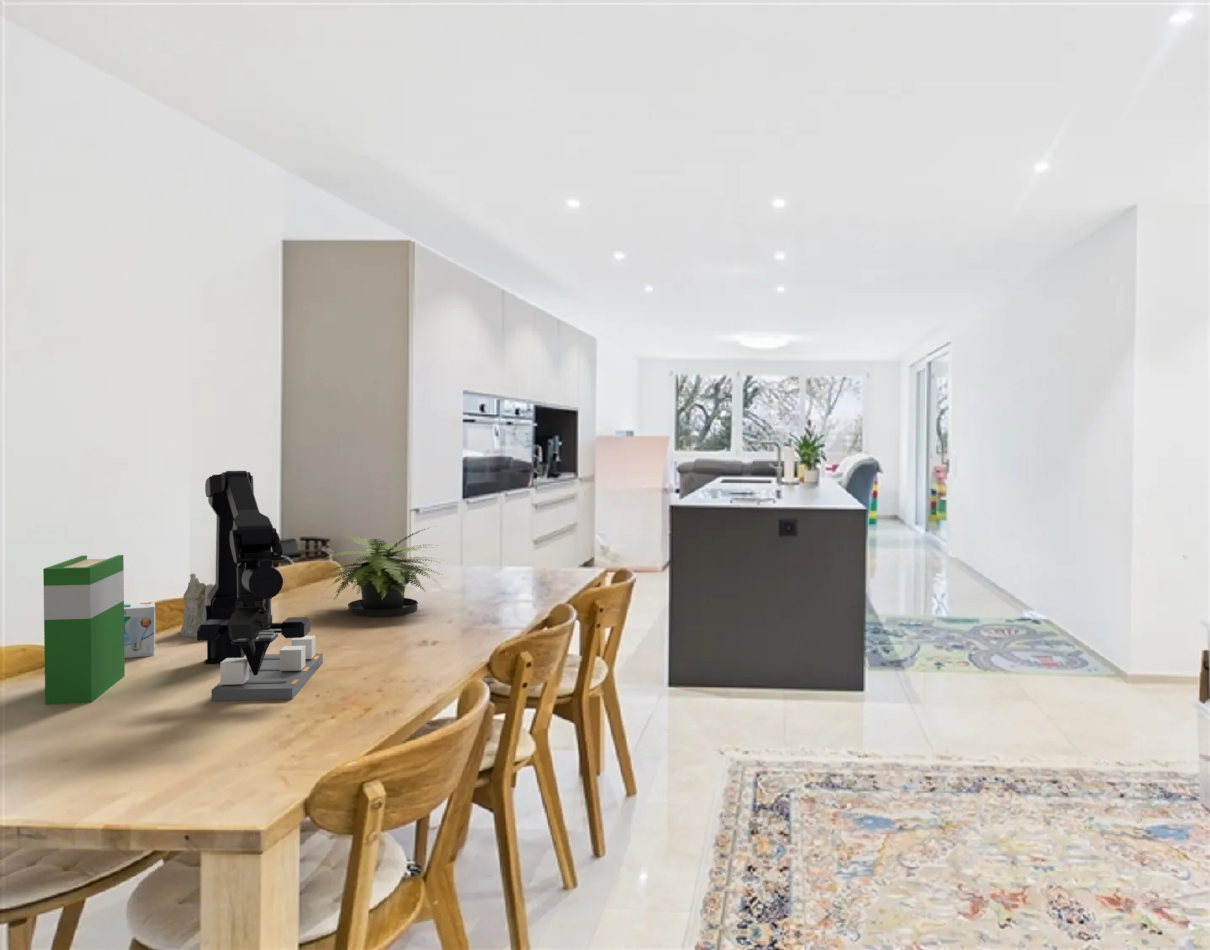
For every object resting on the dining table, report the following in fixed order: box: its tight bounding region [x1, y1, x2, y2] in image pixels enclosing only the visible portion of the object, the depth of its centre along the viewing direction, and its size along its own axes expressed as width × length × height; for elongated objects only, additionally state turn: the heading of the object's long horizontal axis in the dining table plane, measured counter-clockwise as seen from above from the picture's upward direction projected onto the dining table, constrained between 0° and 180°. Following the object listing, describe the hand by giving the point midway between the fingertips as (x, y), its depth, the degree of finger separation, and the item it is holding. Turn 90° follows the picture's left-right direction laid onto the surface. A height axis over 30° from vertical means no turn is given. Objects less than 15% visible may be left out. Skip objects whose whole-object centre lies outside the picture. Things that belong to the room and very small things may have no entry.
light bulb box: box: [124, 601, 156, 659], centre depth 189 cm, size 11×7×11 cm, turn 117°
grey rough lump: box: [180, 572, 215, 639], centre depth 213 cm, size 16×16×15 cm
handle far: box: [290, 635, 316, 659], centre depth 179 cm, size 4×4×4 cm
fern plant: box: [318, 525, 445, 618], centre depth 240 cm, size 37×39×24 cm
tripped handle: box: [219, 657, 249, 685], centre depth 160 cm, size 4×4×4 cm
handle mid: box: [279, 645, 305, 671], centre depth 170 cm, size 4×4×4 cm
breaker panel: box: [210, 652, 324, 702], centre depth 170 cm, size 14×26×2 cm, turn 6°
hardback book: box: [42, 554, 126, 706], centre depth 162 cm, size 18×7×24 cm, turn 12°
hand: (255, 674), depth 161 cm, fingers closed
